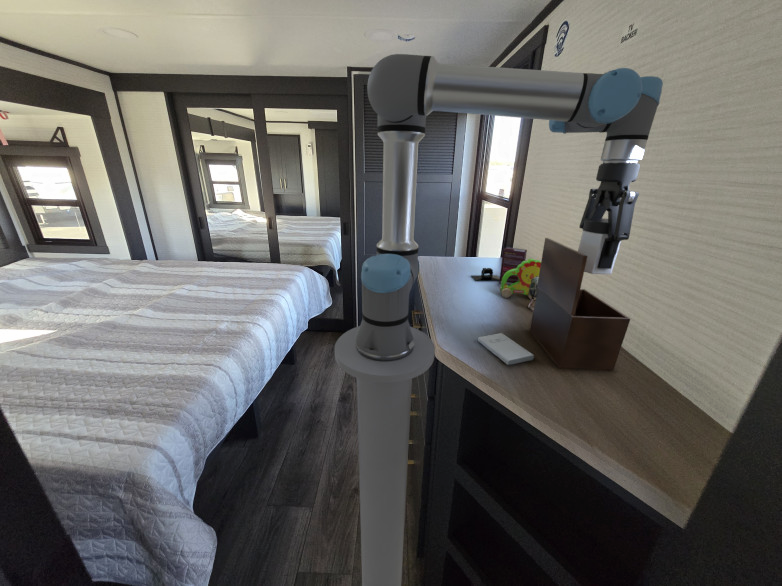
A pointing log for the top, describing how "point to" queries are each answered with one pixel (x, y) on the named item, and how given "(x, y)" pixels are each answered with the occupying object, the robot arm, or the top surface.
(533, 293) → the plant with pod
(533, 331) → the chest
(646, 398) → the top surface
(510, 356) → the hard drive
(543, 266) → the lid
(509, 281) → the supplement box
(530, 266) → the toy lion
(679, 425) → the top surface
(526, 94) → the robot arm
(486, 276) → the build plate
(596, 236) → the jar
